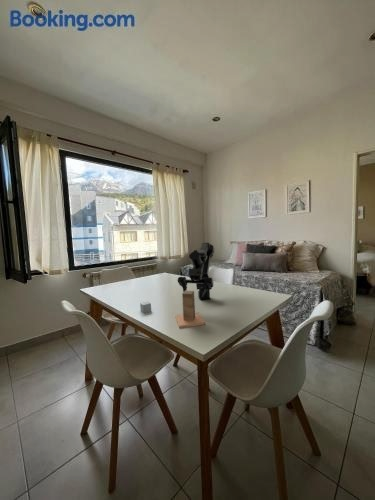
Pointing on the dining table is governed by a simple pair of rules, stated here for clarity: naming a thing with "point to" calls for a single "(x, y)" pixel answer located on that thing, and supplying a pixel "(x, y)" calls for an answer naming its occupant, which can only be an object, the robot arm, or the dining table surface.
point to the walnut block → (188, 305)
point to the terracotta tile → (185, 323)
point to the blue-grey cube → (145, 306)
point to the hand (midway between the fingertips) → (192, 296)
